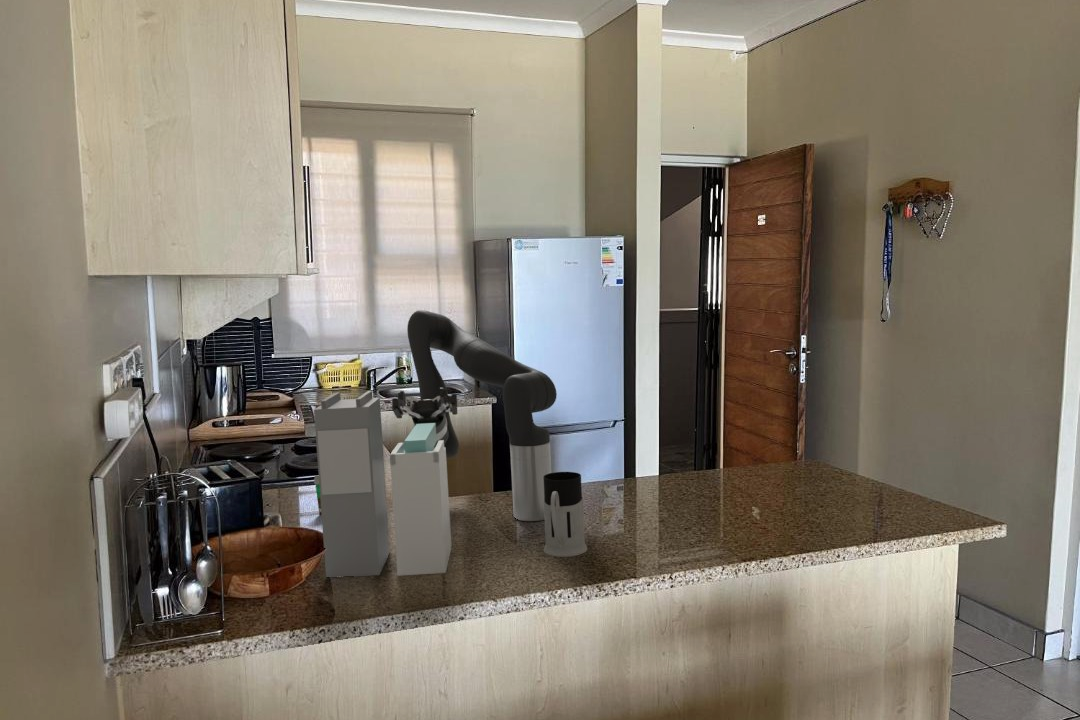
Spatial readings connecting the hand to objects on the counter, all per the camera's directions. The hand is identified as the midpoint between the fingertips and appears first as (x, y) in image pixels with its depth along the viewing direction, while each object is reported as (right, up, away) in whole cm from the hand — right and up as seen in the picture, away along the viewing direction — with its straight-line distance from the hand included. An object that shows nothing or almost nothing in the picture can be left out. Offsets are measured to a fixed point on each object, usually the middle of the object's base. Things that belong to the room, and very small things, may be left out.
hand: (421, 393), depth 174 cm
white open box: (+3, -32, -15) cm, 36 cm away
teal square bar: (+2, -11, -12) cm, 16 cm away
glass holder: (+30, -31, -14) cm, 46 cm away
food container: (-25, -30, +28) cm, 48 cm away
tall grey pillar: (-10, -33, -15) cm, 38 cm away
